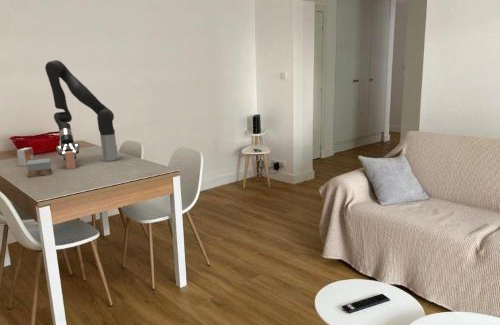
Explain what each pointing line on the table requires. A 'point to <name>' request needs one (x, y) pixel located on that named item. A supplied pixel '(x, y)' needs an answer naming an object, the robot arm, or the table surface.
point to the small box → (25, 156)
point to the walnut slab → (39, 172)
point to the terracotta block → (70, 160)
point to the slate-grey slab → (38, 164)
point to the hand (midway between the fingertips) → (70, 159)
